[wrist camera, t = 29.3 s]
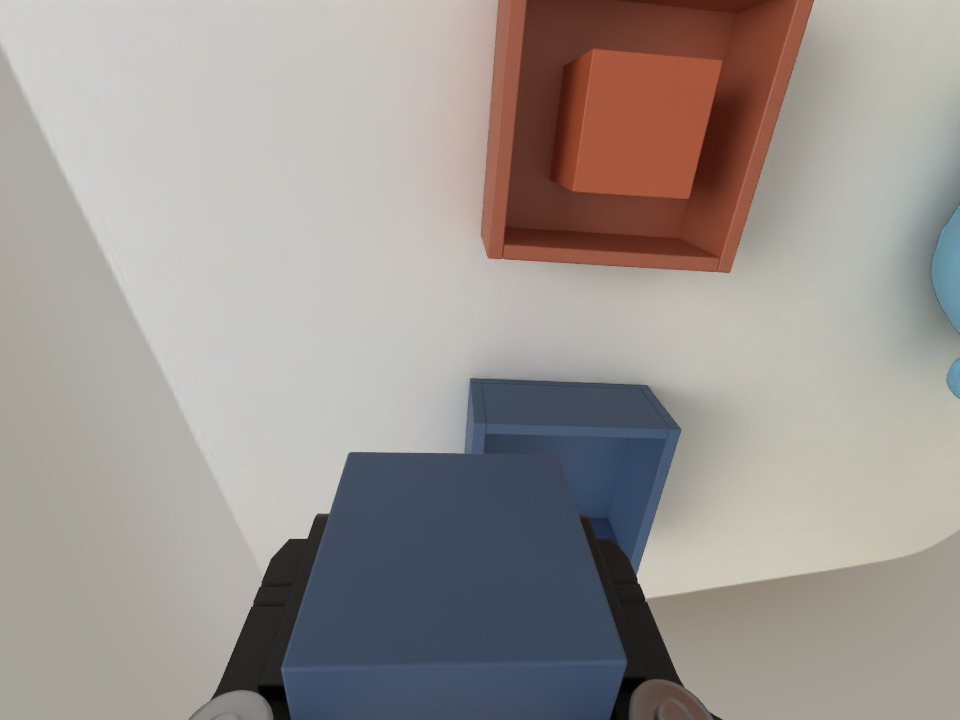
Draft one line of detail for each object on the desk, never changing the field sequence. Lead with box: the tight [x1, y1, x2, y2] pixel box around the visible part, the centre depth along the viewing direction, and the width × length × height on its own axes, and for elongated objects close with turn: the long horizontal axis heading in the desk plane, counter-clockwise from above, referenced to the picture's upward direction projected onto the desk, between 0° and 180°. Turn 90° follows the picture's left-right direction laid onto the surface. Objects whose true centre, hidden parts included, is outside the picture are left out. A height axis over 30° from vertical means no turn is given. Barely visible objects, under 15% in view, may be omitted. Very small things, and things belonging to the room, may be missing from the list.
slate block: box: [281, 452, 627, 720], centre depth 9 cm, size 4×4×4 cm
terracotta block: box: [550, 48, 723, 199], centre depth 19 cm, size 4×4×4 cm
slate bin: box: [465, 379, 681, 575], centre depth 27 cm, size 10×10×4 cm
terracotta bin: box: [481, 0, 814, 273], centre depth 19 cm, size 10×10×4 cm
